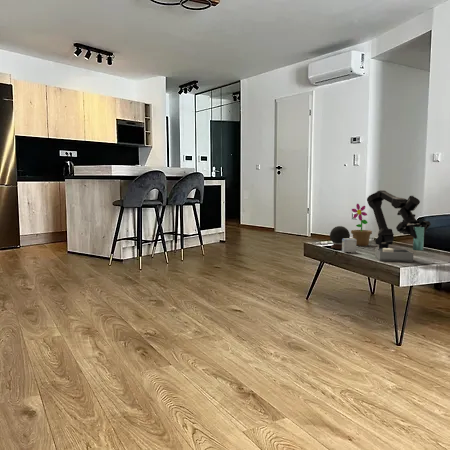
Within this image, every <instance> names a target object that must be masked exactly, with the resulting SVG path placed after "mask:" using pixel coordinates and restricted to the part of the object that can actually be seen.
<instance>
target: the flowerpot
mask: <svg viewBox="0 0 450 450" xmlns="http://www.w3.org/2000/svg"><path fill="white" fill-rule="evenodd" d="M360 206H361V205H360V204H359V203H356V208H351V211H352V213H354V215H353V216H352V218H353V219H357V217H358V220H359V221H360V223H358V224H356V225H355V227H358V228H360V229H353V230H350V234H352V238H354V239H356V240H357V241H356V246H358V245H359V246H360V247H361V246H362V247H363V246H364V247H366V246H367V245H368V246H369V245H370V240H371V239H370V238H371V235H373V231H372V230H368V229H363V225H367V224H368V223H369V222H368V221H367V220H366V219H363V216H368V214H367V212H365V211H364V210H365V209H366V205H363V206H361V207H360ZM359 246H358V247H359Z"/></svg>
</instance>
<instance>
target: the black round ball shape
mask: <svg viewBox="0 0 450 450" xmlns="http://www.w3.org/2000/svg"><path fill="white" fill-rule="evenodd" d="M343 238H351V232H350V231H349V230H348V228H347V227H345V226H342V225H338V226H335V227H333V228H332V229H331V230H330V233H329V239H330V241H331V242H332V245H331V247H330V248H331V249H333V248H335V249H334V250H342V239H343Z"/></svg>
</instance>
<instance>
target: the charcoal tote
mask: <svg viewBox="0 0 450 450" xmlns="http://www.w3.org/2000/svg"><path fill="white" fill-rule="evenodd" d="M393 249H394V252H382V251H383V249H379V248H375V252H374V253H375V255H374V257H375V258H376V259H377V260H378V261H379V262H405V263H408V262H409V263H414V252H413V251H410V250H409V249H401V248H397V249H396V248H393Z"/></svg>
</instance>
